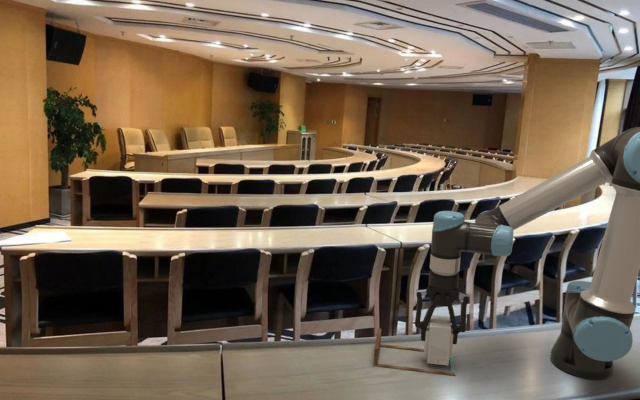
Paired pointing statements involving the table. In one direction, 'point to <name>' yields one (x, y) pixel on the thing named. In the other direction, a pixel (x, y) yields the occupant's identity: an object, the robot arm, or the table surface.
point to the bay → (378, 345)
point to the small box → (439, 340)
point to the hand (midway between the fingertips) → (437, 352)
